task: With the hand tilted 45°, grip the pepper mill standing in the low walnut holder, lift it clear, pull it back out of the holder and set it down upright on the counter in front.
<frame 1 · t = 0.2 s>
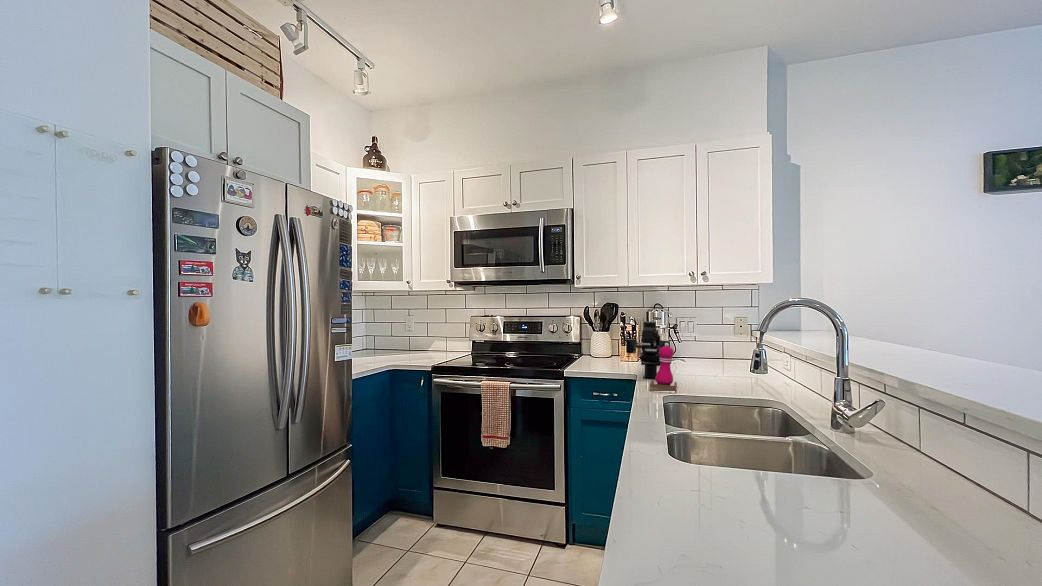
hand: (646, 350, 187), 17 cm above the counter, tool horizontal, fingers open, 9 cm apart
pepper mill: (663, 389, 185), resting in walnut holder, touching gripper
walnut holder: (663, 389, 185), on the counter
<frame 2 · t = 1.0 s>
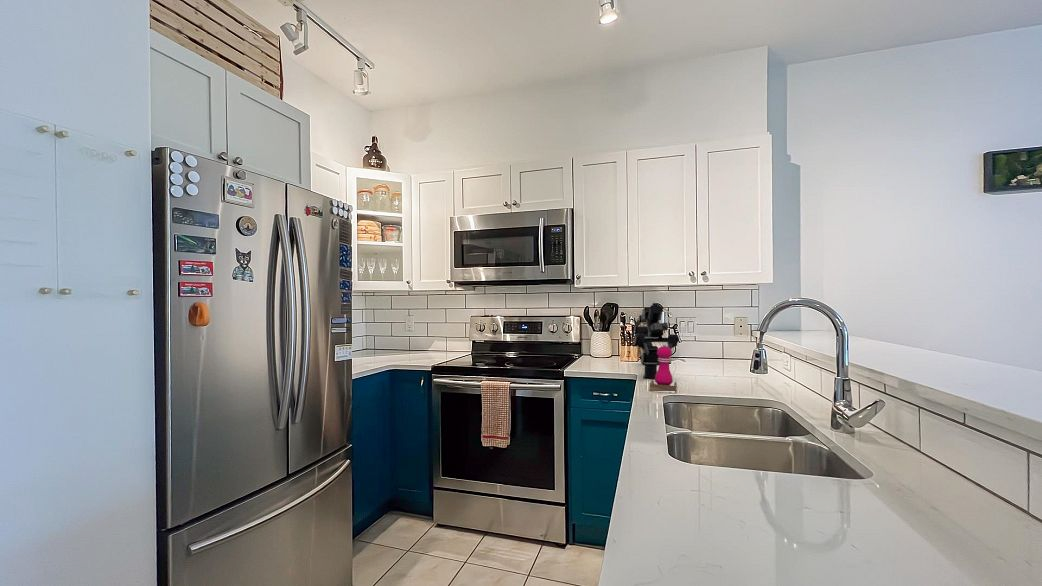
hand: (659, 354, 192), 14 cm above the counter, tool tilted 45°, fingers open, 9 cm apart
pepper mill: (663, 390, 185), resting in walnut holder
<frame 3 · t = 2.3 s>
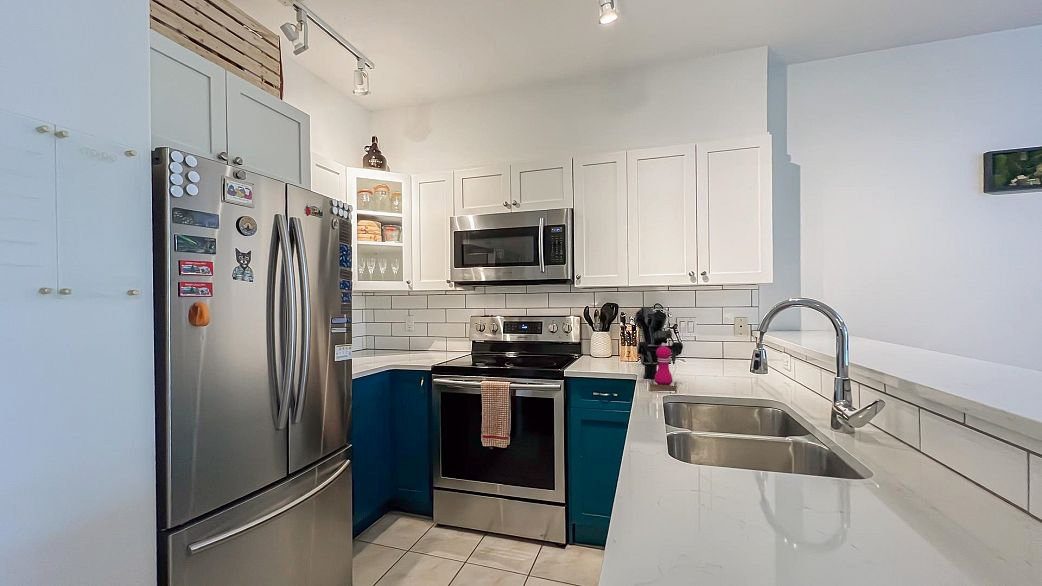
hand: (662, 363, 186), 11 cm above the counter, tool tilted 45°, fingers open, 9 cm apart
nothing on the counter moved.
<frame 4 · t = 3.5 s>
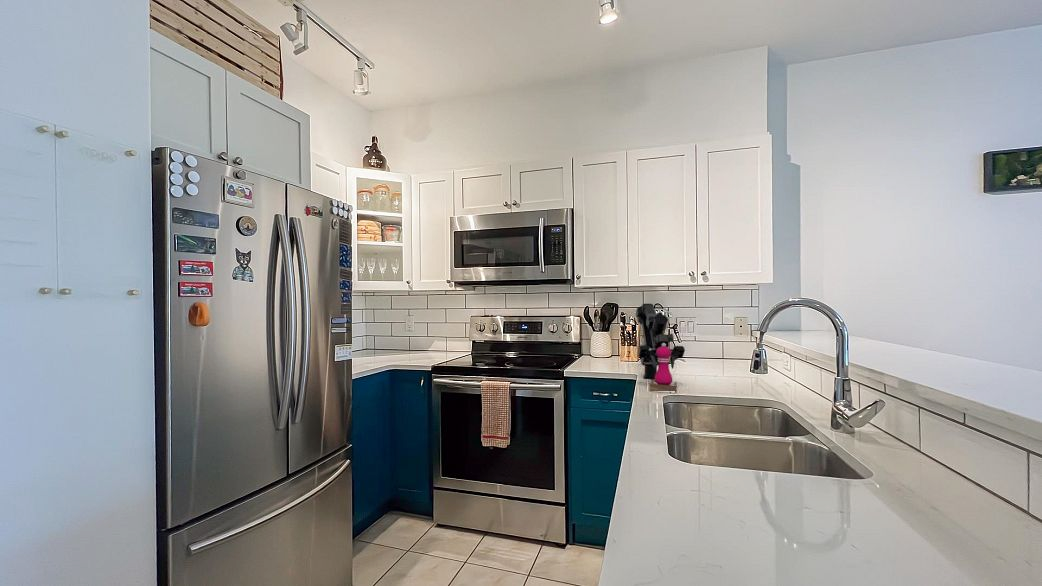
hand: (664, 367, 184), 10 cm above the counter, tool tilted 45°, fingers open, 7 cm apart
pepper mill: (663, 390, 185), resting in walnut holder, touching gripper
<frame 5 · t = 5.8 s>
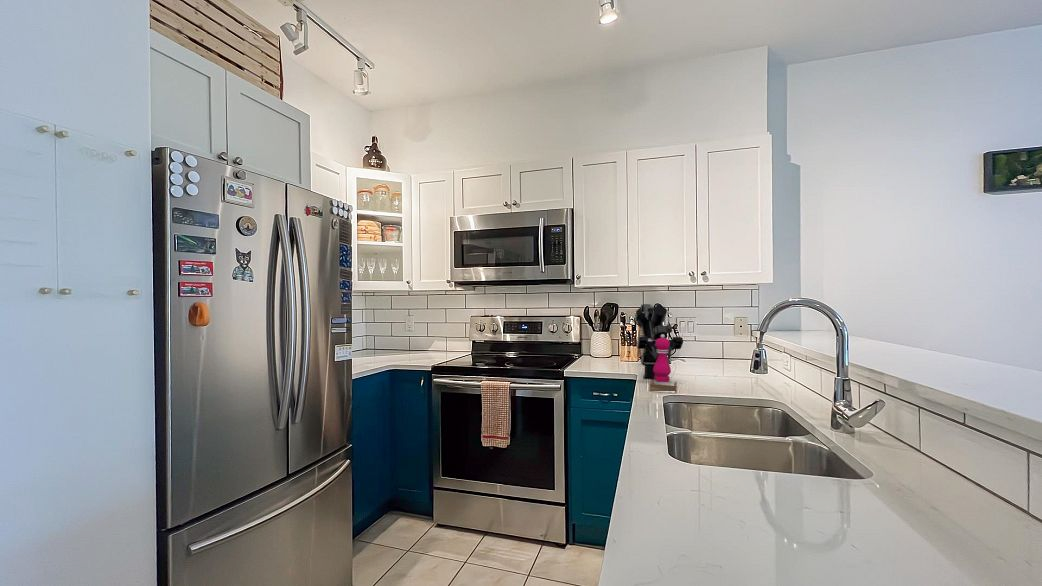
hand: (662, 358, 186), 13 cm above the counter, tool tilted 45°, fingers closed on pepper mill, 5 cm apart
pepper mill: (661, 381, 188), point 3 cm above the counter, touching gripper
when the fingers open (11 cm above the counter, at t = 7.9 s): pepper mill drops 1 cm, on the counter.
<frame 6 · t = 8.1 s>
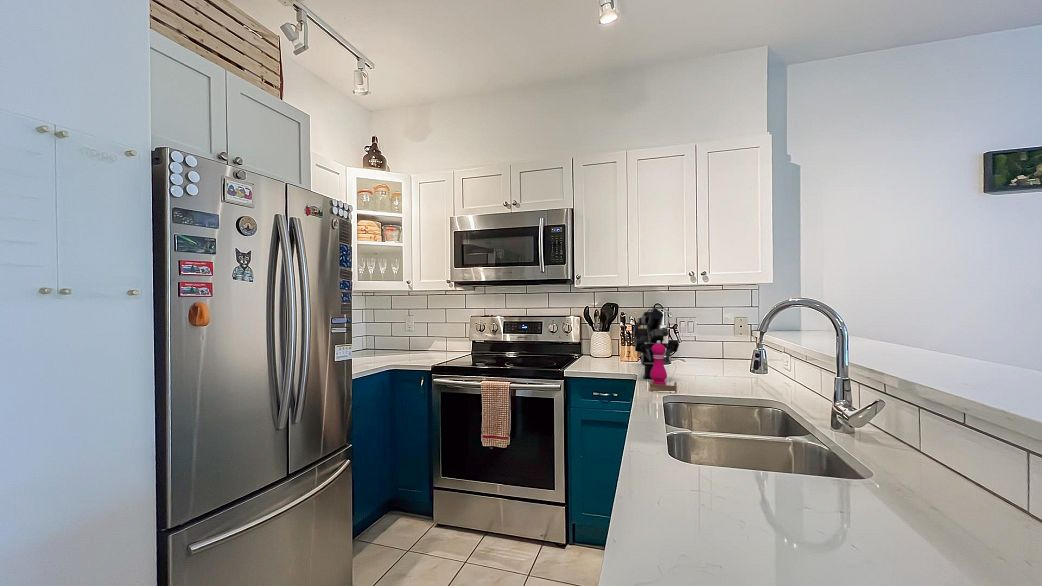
hand: (659, 360, 193), 11 cm above the counter, tool tilted 45°, fingers open, 7 cm apart
pepper mill: (658, 385, 194), on the counter
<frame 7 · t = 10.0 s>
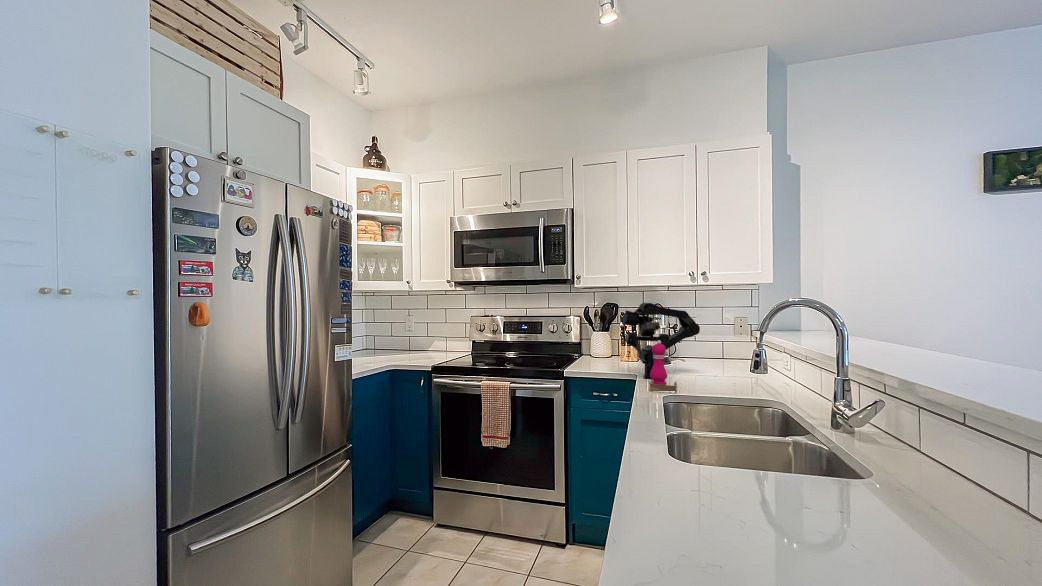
hand: (650, 353, 197), 14 cm above the counter, tool tilted 45°, fingers open, 9 cm apart
nothing on the counter moved.
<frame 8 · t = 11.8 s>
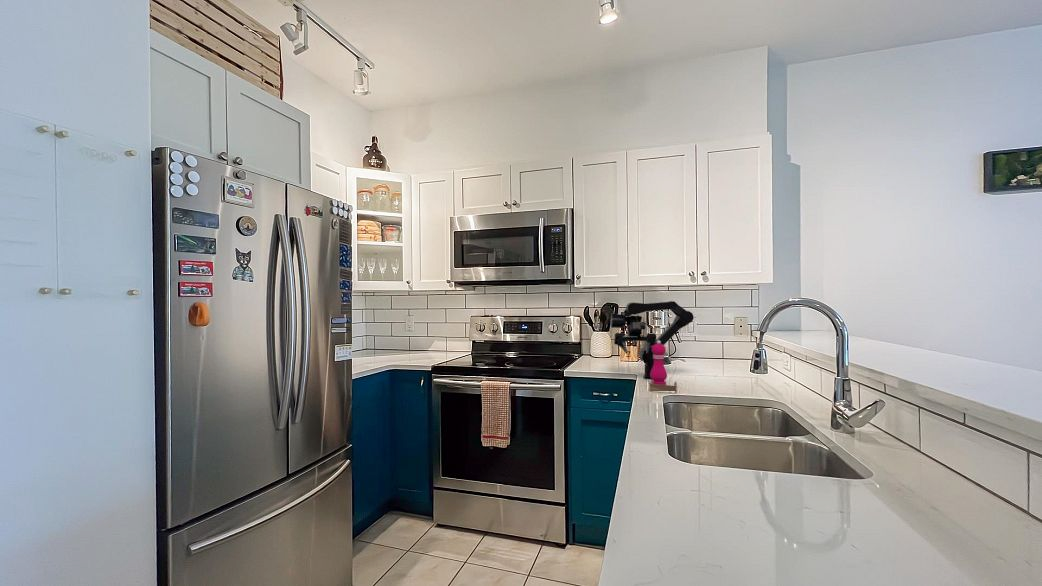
hand: (637, 353, 198), 14 cm above the counter, tool tilted 45°, fingers open, 9 cm apart
nothing on the counter moved.
at the end: pepper mill 0.5 cm from the target spot on the counter beside the walnut holder, on the counter; pepper mill tilted 0°; the gripper is holding nothing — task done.
